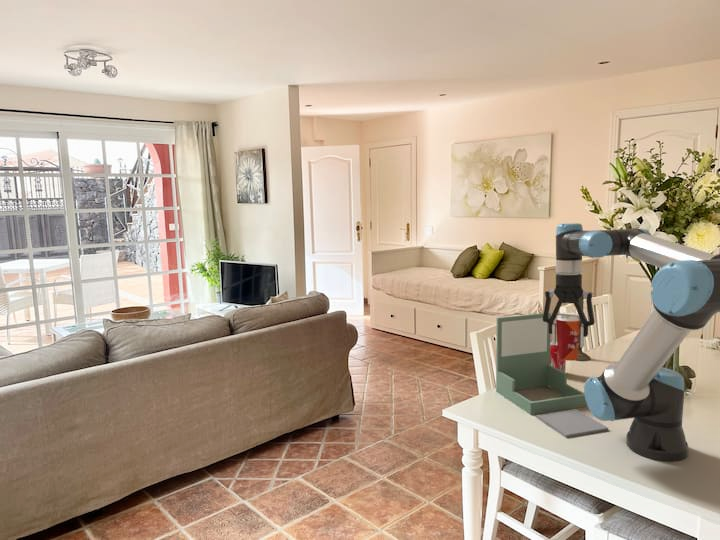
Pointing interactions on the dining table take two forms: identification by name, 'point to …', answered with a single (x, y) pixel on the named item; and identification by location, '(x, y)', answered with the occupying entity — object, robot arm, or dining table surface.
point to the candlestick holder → (581, 355)
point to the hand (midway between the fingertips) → (568, 345)
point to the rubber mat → (571, 423)
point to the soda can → (556, 358)
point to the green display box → (530, 365)
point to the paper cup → (568, 335)
